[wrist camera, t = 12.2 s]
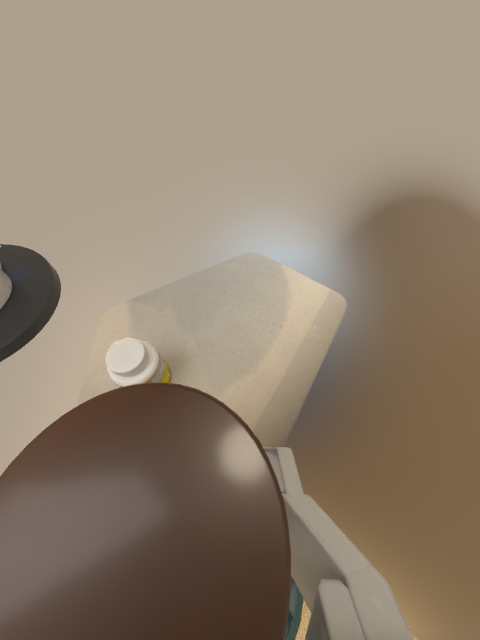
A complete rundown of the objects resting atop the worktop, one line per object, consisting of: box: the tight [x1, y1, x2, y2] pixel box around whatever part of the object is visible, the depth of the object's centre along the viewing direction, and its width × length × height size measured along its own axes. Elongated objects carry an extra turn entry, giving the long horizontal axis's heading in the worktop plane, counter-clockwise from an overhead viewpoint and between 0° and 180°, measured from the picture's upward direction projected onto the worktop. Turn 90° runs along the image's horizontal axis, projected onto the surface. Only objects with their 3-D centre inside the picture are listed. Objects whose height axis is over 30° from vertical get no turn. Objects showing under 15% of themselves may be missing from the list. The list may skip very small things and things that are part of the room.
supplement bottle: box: [105, 337, 171, 387], centre depth 28 cm, size 6×6×10 cm
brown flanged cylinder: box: [0, 382, 291, 640], centre depth 8 cm, size 4×4×14 cm
